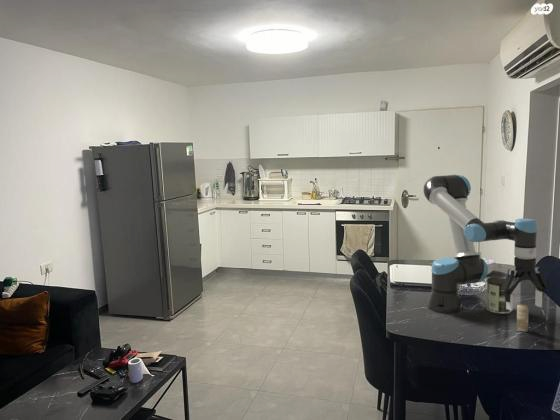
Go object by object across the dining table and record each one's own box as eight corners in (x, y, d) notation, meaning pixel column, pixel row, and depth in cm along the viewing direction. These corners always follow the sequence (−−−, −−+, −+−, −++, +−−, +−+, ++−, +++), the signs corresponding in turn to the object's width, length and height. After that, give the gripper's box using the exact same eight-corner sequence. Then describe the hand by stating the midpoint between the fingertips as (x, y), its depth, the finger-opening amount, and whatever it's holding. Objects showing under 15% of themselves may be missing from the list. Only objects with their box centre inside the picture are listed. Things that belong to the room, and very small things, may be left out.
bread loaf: (522, 332, 167) (522, 308, 166) (514, 328, 171) (514, 305, 170) (530, 330, 168) (530, 307, 167) (522, 326, 172) (522, 304, 171)
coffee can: (511, 307, 194) (512, 278, 192) (510, 315, 185) (511, 285, 183) (487, 304, 199) (488, 276, 197) (485, 311, 191) (485, 282, 189)
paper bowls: (462, 270, 258) (462, 258, 257) (485, 269, 260) (485, 256, 259) (476, 277, 243) (476, 264, 242) (500, 275, 245) (500, 262, 244)
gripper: (504, 261, 160) (503, 314, 162) (559, 256, 164) (558, 307, 167) (491, 257, 168) (490, 307, 170) (544, 252, 172) (543, 302, 174)
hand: (524, 308), depth 168 cm, fingers open, 13 cm apart
